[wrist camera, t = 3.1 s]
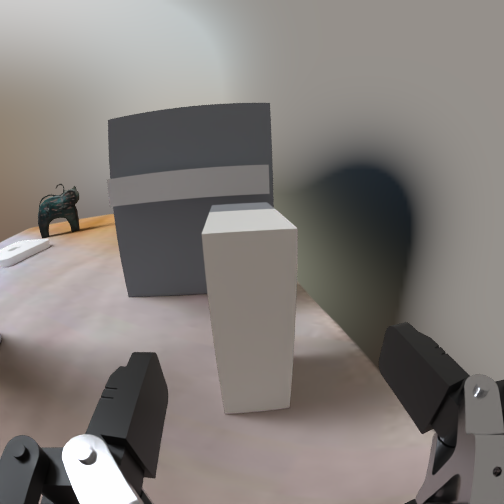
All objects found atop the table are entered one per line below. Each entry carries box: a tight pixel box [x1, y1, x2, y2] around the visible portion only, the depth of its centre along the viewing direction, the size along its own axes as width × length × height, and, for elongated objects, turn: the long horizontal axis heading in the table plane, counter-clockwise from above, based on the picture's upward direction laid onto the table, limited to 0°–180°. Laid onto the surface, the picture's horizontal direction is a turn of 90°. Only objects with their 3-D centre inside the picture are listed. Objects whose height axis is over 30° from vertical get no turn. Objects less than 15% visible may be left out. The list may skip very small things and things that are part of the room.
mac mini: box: [0, 239, 50, 268], centre depth 63 cm, size 22×22×3 cm
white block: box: [202, 202, 298, 414], centre depth 21 cm, size 5×11×14 cm, turn 5°
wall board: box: [107, 103, 274, 297], centre depth 36 cm, size 22×8×26 cm, turn 95°
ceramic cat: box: [38, 184, 80, 238], centre depth 87 cm, size 20×6×20 cm, turn 118°
